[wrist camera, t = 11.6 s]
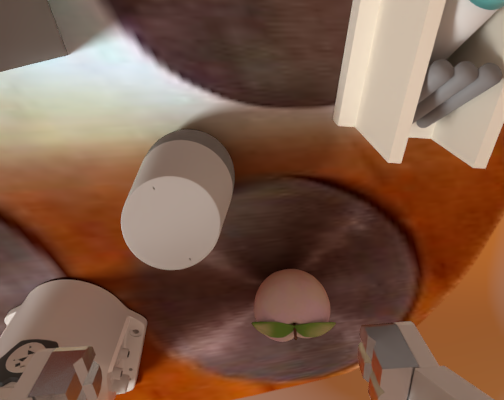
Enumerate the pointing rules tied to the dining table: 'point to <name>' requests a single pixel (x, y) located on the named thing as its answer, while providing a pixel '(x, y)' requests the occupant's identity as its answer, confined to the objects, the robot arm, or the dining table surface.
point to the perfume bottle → (28, 34)
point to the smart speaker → (178, 200)
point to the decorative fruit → (291, 306)
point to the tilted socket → (420, 81)
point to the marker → (461, 24)
